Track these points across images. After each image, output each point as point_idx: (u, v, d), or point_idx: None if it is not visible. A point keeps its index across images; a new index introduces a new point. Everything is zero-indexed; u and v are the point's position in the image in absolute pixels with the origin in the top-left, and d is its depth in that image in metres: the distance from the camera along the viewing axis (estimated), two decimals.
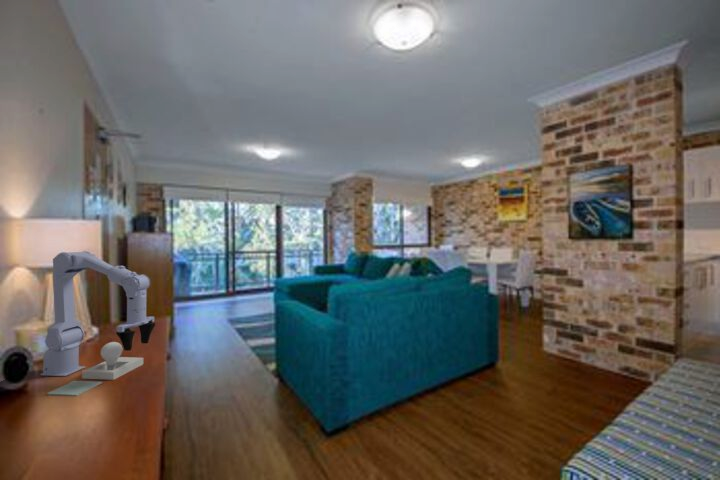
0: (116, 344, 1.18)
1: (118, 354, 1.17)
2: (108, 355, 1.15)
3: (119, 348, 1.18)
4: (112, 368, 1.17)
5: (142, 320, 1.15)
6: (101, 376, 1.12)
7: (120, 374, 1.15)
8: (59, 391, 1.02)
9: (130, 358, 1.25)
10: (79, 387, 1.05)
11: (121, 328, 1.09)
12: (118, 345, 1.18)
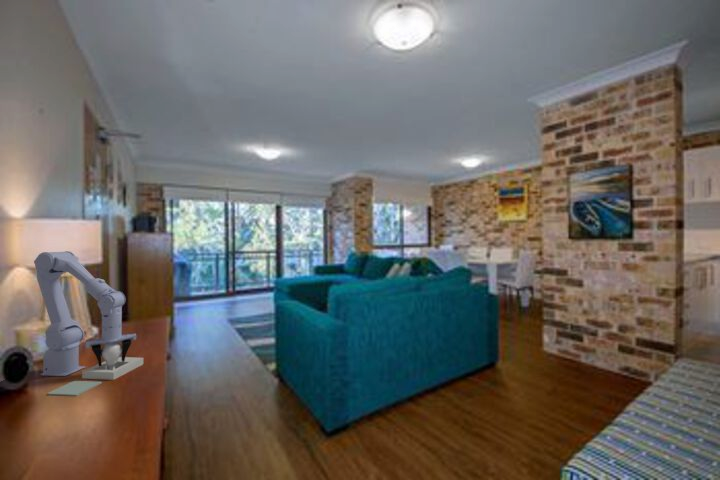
0: (116, 344, 1.18)
1: (118, 354, 1.17)
2: (108, 355, 1.15)
3: (119, 348, 1.18)
4: (112, 368, 1.17)
5: (110, 338, 1.15)
6: (101, 376, 1.12)
7: (120, 374, 1.15)
8: (59, 391, 1.02)
9: (130, 358, 1.25)
10: (79, 387, 1.05)
11: None
12: (118, 345, 1.18)
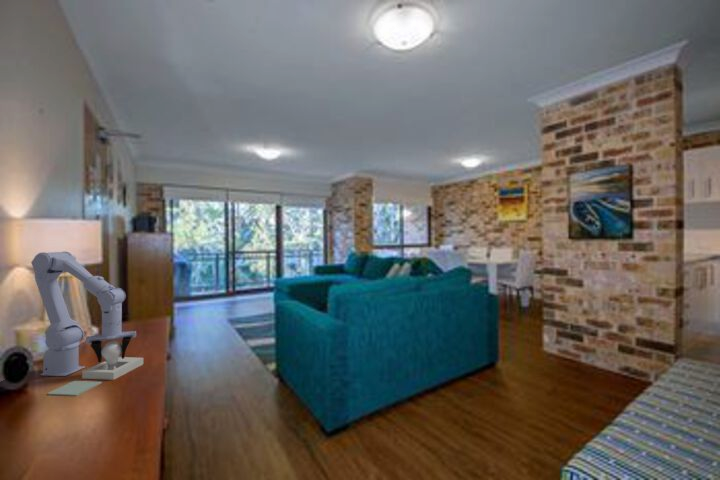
0: (115, 343, 1.17)
1: (117, 354, 1.17)
2: (106, 354, 1.15)
3: (118, 348, 1.17)
4: (112, 367, 1.17)
5: (108, 335, 1.15)
6: (101, 376, 1.12)
7: (120, 374, 1.15)
8: (59, 391, 1.02)
9: (130, 358, 1.25)
10: (79, 387, 1.05)
11: None
12: (117, 345, 1.17)
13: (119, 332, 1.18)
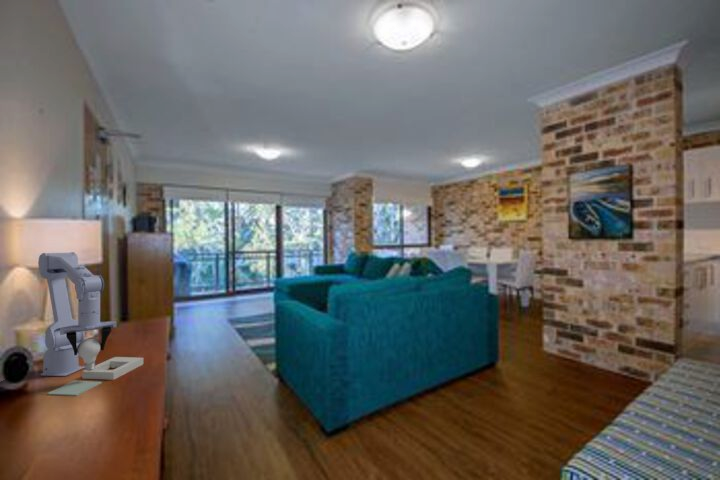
0: (93, 341, 1.09)
1: (95, 351, 1.09)
2: (84, 352, 1.07)
3: (96, 345, 1.09)
4: (90, 366, 1.09)
5: (87, 325, 1.07)
6: (101, 376, 1.12)
7: (120, 374, 1.15)
8: (59, 391, 1.02)
9: (130, 358, 1.25)
10: (79, 387, 1.05)
11: (60, 331, 1.04)
12: (95, 342, 1.09)
13: (98, 322, 1.10)
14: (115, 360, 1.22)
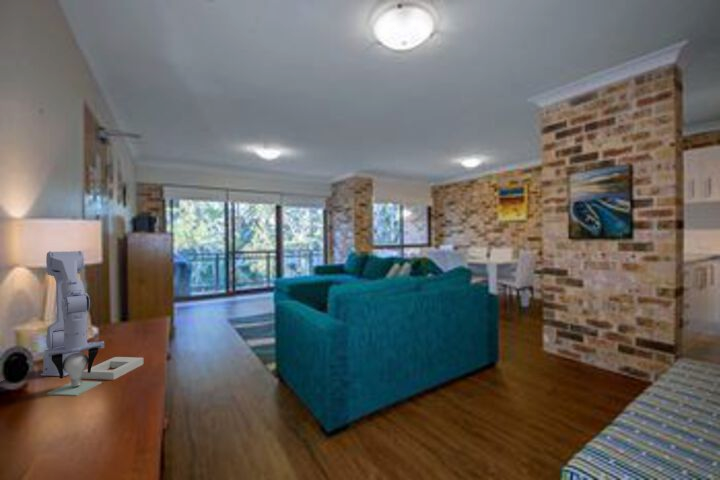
0: (79, 355, 1.05)
1: (82, 367, 1.04)
2: (69, 368, 1.02)
3: (83, 360, 1.05)
4: (76, 381, 1.05)
5: (73, 347, 1.02)
6: (101, 376, 1.12)
7: (120, 374, 1.15)
8: (59, 391, 1.02)
9: (130, 358, 1.25)
10: (79, 387, 1.05)
11: (44, 353, 1.00)
12: (82, 356, 1.05)
13: (85, 343, 1.05)
14: (115, 360, 1.22)
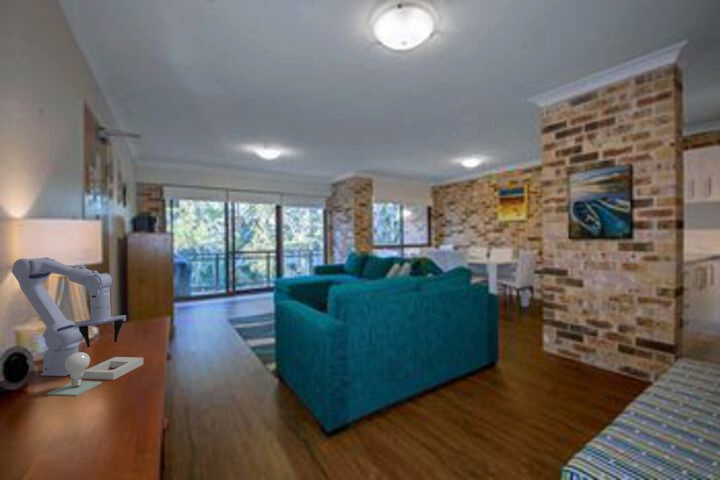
0: (82, 355, 1.05)
1: (83, 366, 1.05)
2: (71, 367, 1.03)
3: (85, 359, 1.05)
4: (76, 381, 1.05)
5: (99, 319, 1.15)
6: (101, 376, 1.12)
7: (120, 374, 1.15)
8: (59, 391, 1.02)
9: (130, 358, 1.25)
10: (79, 387, 1.05)
11: (74, 325, 1.12)
12: (84, 356, 1.06)
13: (109, 316, 1.18)
14: (115, 360, 1.22)
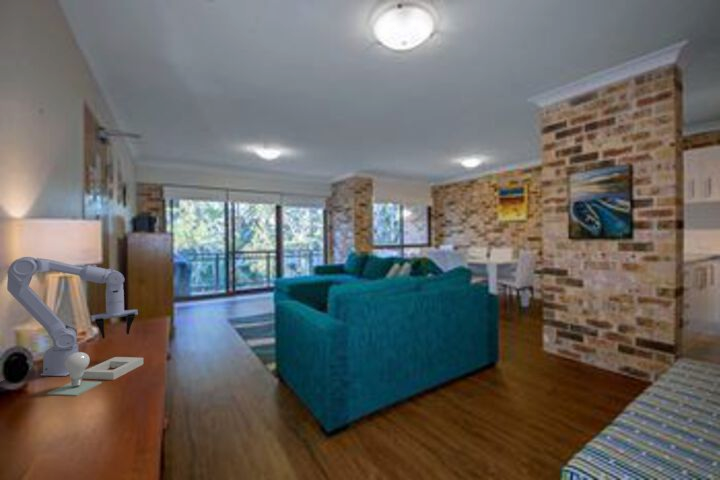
0: (81, 355, 1.05)
1: (83, 366, 1.05)
2: (71, 367, 1.03)
3: (84, 359, 1.05)
4: (76, 381, 1.05)
5: (113, 312, 1.25)
6: (101, 376, 1.12)
7: (120, 374, 1.15)
8: (59, 391, 1.02)
9: (130, 358, 1.25)
10: (79, 387, 1.05)
11: (91, 317, 1.22)
12: (84, 356, 1.06)
13: (123, 310, 1.28)
14: (115, 360, 1.22)
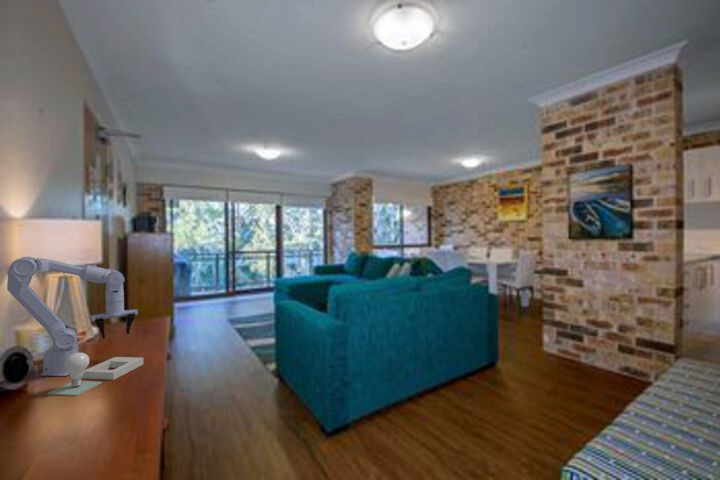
0: (81, 355, 1.05)
1: (83, 367, 1.05)
2: (71, 367, 1.02)
3: (84, 360, 1.05)
4: (76, 382, 1.05)
5: (113, 312, 1.25)
6: (101, 376, 1.12)
7: (120, 374, 1.15)
8: (59, 391, 1.02)
9: (130, 358, 1.25)
10: (79, 387, 1.05)
11: (91, 317, 1.22)
12: (83, 357, 1.05)
13: (123, 310, 1.28)
14: (115, 360, 1.22)
